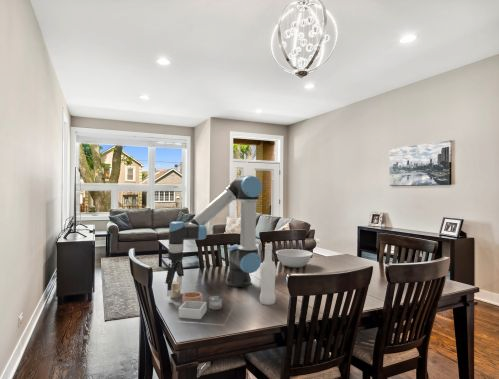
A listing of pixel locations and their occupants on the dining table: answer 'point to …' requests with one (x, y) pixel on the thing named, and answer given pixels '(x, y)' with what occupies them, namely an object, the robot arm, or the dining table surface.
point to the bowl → (294, 257)
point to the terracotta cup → (192, 296)
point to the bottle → (268, 277)
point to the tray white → (192, 309)
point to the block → (176, 290)
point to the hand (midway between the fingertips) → (174, 292)
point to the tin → (215, 302)
